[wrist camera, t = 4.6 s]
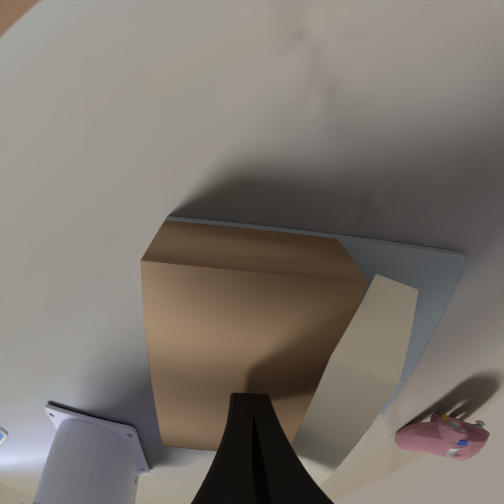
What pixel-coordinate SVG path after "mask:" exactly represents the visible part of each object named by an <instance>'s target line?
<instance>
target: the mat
mask: <svg viewBox="0 0 504 504" xmlns="http://www.w3.org/2000/svg"><path fill="white" fill-rule="evenodd" d="M165 220H169V221H180V222H190V223H201V224H211V225H221V226H231V227H240V228H250V229H259V230H268V231H278V232H286V233H295V234H304V235H312V236H321V237H329V238H337V239H338V241H339V242H340V243H341V245H342V246H343V247H344V249H345V250H346V251H347V253H348V254H349V256H350V257H351V258H352V260H353V261H354V263H355V264H356V265H357V267H358V268H359V270H360V271H361V272H362V274H363V275H364V277H365V278H366V279H367V281H368V283H367V286H366V289H365V291H364V294H363V297H362V300H363V298H364V297H365V295H366V293H367V291H368V289H369V287H370V285H371V283H372V281H373V279H374V277H375V275H376V274H378V275H381V276H383V277H386V278H389V279H391V280H394V281H396V282H399V283H402V284H404V285H407V286H410V287H412V288H415V289H417V290H418V295H417V302H416V308H415V314H414V319H413V325H412V330H411V335H410V340H409V344H408V349H407V353H406V357H405V362H404V366H403V370H402V374H401V377H400V381H399V385H398V386H397V388H396V389H395V391H394V392H393V394H392V395H391V397H390V399H389V400H388V402H387V403H386V404H385V406H384V407H383V409H382V410H381V412H380V413H379V414H384V413H385V411H386V410H387V408H388V407H389V405H390V404H391V403H392V401H393V400H394V398H395V397H396V395H397V394H398V392H399V391H400V389H401V388H402V386H403V384H404V383H405V381H406V380H407V378H408V376H409V375H410V373H411V372H412V370H413V368H414V367H415V365H416V363H417V361H418V360H419V358H420V356H421V355H422V353H423V351H424V349H425V347H426V346H427V344H428V342H429V340H430V338H431V336H432V334H433V333H434V331H435V329H436V327H437V325H438V323H439V321H440V319H441V317H442V315H443V313H444V311H445V308H446V306H447V304H448V302H449V300H450V298H451V295H452V293H453V291H454V289H455V286H456V284H457V282H458V279H459V277H460V274H461V272H462V269H463V267H464V264H465V262H466V259H467V255H465V254H464V253H463V252H458V251H452V250H445V249H439V248H432V247H425V246H419V245H412V244H405V243H398V242H391V241H384V240H376V239H369V238H361V237H354V236H346V235H338V234H330V233H322V232H314V231H306V230H297V229H289V228H280V227H271V226H262V225H253V224H244V223H234V222H225V221H215V220H204V219H194V218H183V217H172V216H167V218H166V219H165ZM362 300H361V302H362ZM360 304H361V303H360ZM359 306H360V305H359Z"/></svg>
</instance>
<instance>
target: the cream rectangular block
mask: <svg viewBox="0 0 504 504" xmlns="http://www.w3.org/2000/svg"><path fill="white" fill-rule="evenodd" d="M417 295H418V290H417V289H415V288H412V287H410V286H407V285H404V284H402V283H399V282H396V281H394V280H391V279H389V278H386V277H383V276H381V275H378V274H376V275H375V277H374V279H373V281H372V283H371V285H370V287H369V289H368V291H367V293H366V295H365V297H364V298H363V300H362V302H361V304H360V306H359V308H358V310H357V311H356V313H355V315H354V317H353V319H352V321H351V322H350V324H349V326H348V328H347V329H346V331H345V333H344V335H343V336H342V338H341V340H340V341H339V343H338V345H337V346H336V348H335V350H334V351H333V353H332V355H331V357H330V359H329V362H328V364H327V366H326V369H325V371H324V374H323V376H322V378H321V381H320V383H319V385H318V388H317V390H316V392H315V394H314V397H313V399H312V401H311V403H310V406H309V408H308V410H307V412H306V414H305V416H304V418H303V421H302V423H301V425H300V427H299V429H298V431H297V433H296V435H295V437H294V439H293V441H292V443H291V446H292V448H293V450H294V451H295V453H296V455H297V456H298V458H299V460H300V461H301V463H302V464H303V466H304V467H305V469H306V470H307V472H308V473H309V474H310V476H311V477H312V478H313V480H314V481H315V482H316V484H317V485H318V486H319V487H320V486H321V485H322V484H323V483H324V482H325V480H326V479H327V478H328V477H329V476H330V475H331V474H332V473H333V472H334V470H335V469H336V468H337V467H338V466H339V465H340V464H341V462H342V461H343V460H344V459H345V458H346V456H347V455H348V454H349V453H350V452H351V450H352V449H353V448H354V447H355V445H356V444H357V443H358V442H359V440H360V439H361V438H362V436H363V435H364V434H365V432H366V431H367V430H368V428H369V427H370V426H371V424H372V423H373V422H374V420H375V419H376V417H377V416H378V415H379V413H380V412H381V410H382V409H383V407H384V406H385V404H386V403H387V402H388V400H389V399H390V397H391V395H392V394H393V392H394V391H395V389H396V388H397V386H398V385H399V381H400V377H401V374H402V370H403V366H404V362H405V357H406V353H407V349H408V344H409V340H410V335H411V330H412V325H413V319H414V314H415V308H416V302H417Z"/></svg>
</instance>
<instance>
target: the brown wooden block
mask: <svg viewBox="0 0 504 504" xmlns="http://www.w3.org/2000/svg"><path fill="white" fill-rule="evenodd" d="M141 279H142V296H143V310H144V322H145V333H146V343H147V352H148V360H149V368H150V375H151V382H152V389H153V396H154V402H155V408H156V414H157V419H158V425H159V430H160V435H161V440H162V445H166V446H173V447H181V448H190V449H200V450H212V451H217V450H218V448H219V445H220V442H221V439H222V436H223V433H224V430H225V427H226V423H227V416H228V409H229V402H230V394H232V393H234V392H236V393H258V394H268V395H269V396H270V399H271V402H272V405H273V408H274V410H275V413H276V415H277V418H278V420H279V422H280V425H281V427H282V429H283V431H284V433H285V435H286V437H287V439H288V441H289V442H290V444H291V443H292V441H293V439H294V437H295V435H296V433H297V431H298V429H299V427H300V425H301V423H302V421H303V418H304V416H305V414H306V412H307V410H308V408H309V406H310V403H311V401H312V399H313V397H314V394H315V392H316V390H317V388H318V385H319V383H320V381H321V378H322V376H323V374H324V371H325V369H326V366H327V364H328V362H329V359H330V357H331V355H332V353H333V351H334V350H335V348H336V346H337V345H338V343H339V341H340V340H341V338H342V336H343V335H344V333H345V331H346V329H347V328H348V326H349V324H350V322H351V321H352V319H353V317H354V315H355V313H356V311H357V310H358V308H359V305H360V303H361V300H362V297H363V294H364V291H365V289H366V286H367V283H368V281H367V279H366V278H365V277H364V275H363V274H362V272H361V271H360V270H359V268H358V267H357V265H356V264H355V263H354V261H353V260H352V258H351V257H350V256H349V254H348V253H347V251H346V250H345V249H344V247H343V246H342V245H341V243H340V242H339V241H338V239H337V238H329V237H321V236H312V235H304V234H295V233H286V232H278V231H268V230H259V229H250V228H240V227H231V226H221V225H211V224H201V223H190V222H180V221H169V220H165V221H164V223H163V224H162V226H161V227H160V229H159V231H158V232H157V234H156V236H155V237H154V239H153V241H152V242H151V244H150V246H149V247H148V249H147V251H146V252H145V254H144V256H143V257H142V259H141Z"/></svg>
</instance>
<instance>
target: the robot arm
mask: <svg viewBox="0 0 504 504" xmlns="http://www.w3.org/2000/svg"><path fill="white" fill-rule="evenodd" d="M45 410H46V412H47V414H48V416H49V417H50V419H51V421H52V422H53V424H54V425H55V427H56V429H57V433H56V435H55V438H54V441H53V444H52V446H51V449H50V452H49V455H48V457H47V460H46V463H45V466H44V469H43V472H42V475H41V479H40V482H39V485H38V488H37V492H36V495H35V498H34V502H33V504H135V498H136V492H137V485H138V479H139V474H145V475H149V474H150V470H149V467H148V464H147V462H146V459H145V456H144V453H143V450H142V447H141V444H140V441H139V438H138V435H137V432H136V429H135V428H134V427H132V426H129V425H124V424H119V423H115V422H110V421H106V420H102V419H98V418H94V417H90V416H86V415H82V414H79V413H75V412H72V411H68V410H65V409H62V408H58V407H55V406H52V405H49V404H46V406H45ZM21 504H24V503H21ZM191 504H334V503H333V502H332V501H331V500H330V499H329V498H328V497H327V496H326V495H325V493H324V492H323V491H322V490H321V489H320V487H319V486H318V485H317V484H316V482H315V481H314V480H313V478H312V477H311V476H310V474H309V473H308V472H307V470H306V469H305V467H304V466H303V464H302V463H301V461H300V460H299V458H298V456H297V455H296V453H295V451H294V450H293V448H292V446H291V444H290V442H289V441H288V439H287V437H286V435H285V433H284V431H283V429H282V427H281V425H280V422H279V420H278V418H277V415H276V413H275V410H274V408H273V405H272V402H271V399H270V396H269V395H268V394H258V393H236V392H234V393H232V394H230V402H229V409H228V416H227V423H226V427H225V430H224V433H223V436H222V439H221V442H220V445H219V448H218V450H217V453H216V455H215V458H214V460H213V463H212V465H211V467H210V469H209V471H208V473H207V475H206V477H205V479H204V481H203V483H202V485H201V487H200V489H199V491H198V492H197V494H196V496H195V498H194V499H193V501H192V503H191Z"/></svg>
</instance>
